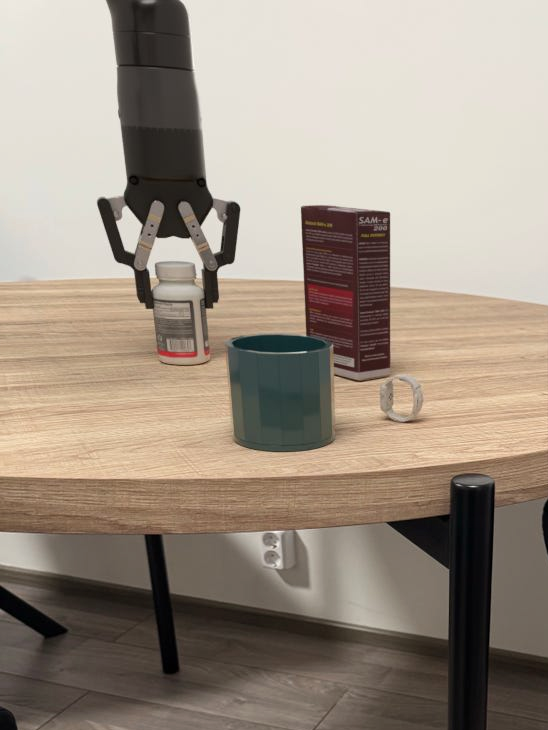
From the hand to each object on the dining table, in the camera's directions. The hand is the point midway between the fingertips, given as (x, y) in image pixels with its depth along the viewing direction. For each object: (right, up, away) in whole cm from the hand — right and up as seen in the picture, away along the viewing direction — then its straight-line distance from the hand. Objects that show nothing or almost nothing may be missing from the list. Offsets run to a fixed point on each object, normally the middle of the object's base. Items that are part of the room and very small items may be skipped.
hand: (179, 307), depth 98 cm
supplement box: (+18, -7, +1) cm, 19 cm away
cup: (+15, -18, -21) cm, 32 cm away
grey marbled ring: (+24, -16, -15) cm, 32 cm away
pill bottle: (0, -5, +3) cm, 6 cm away
